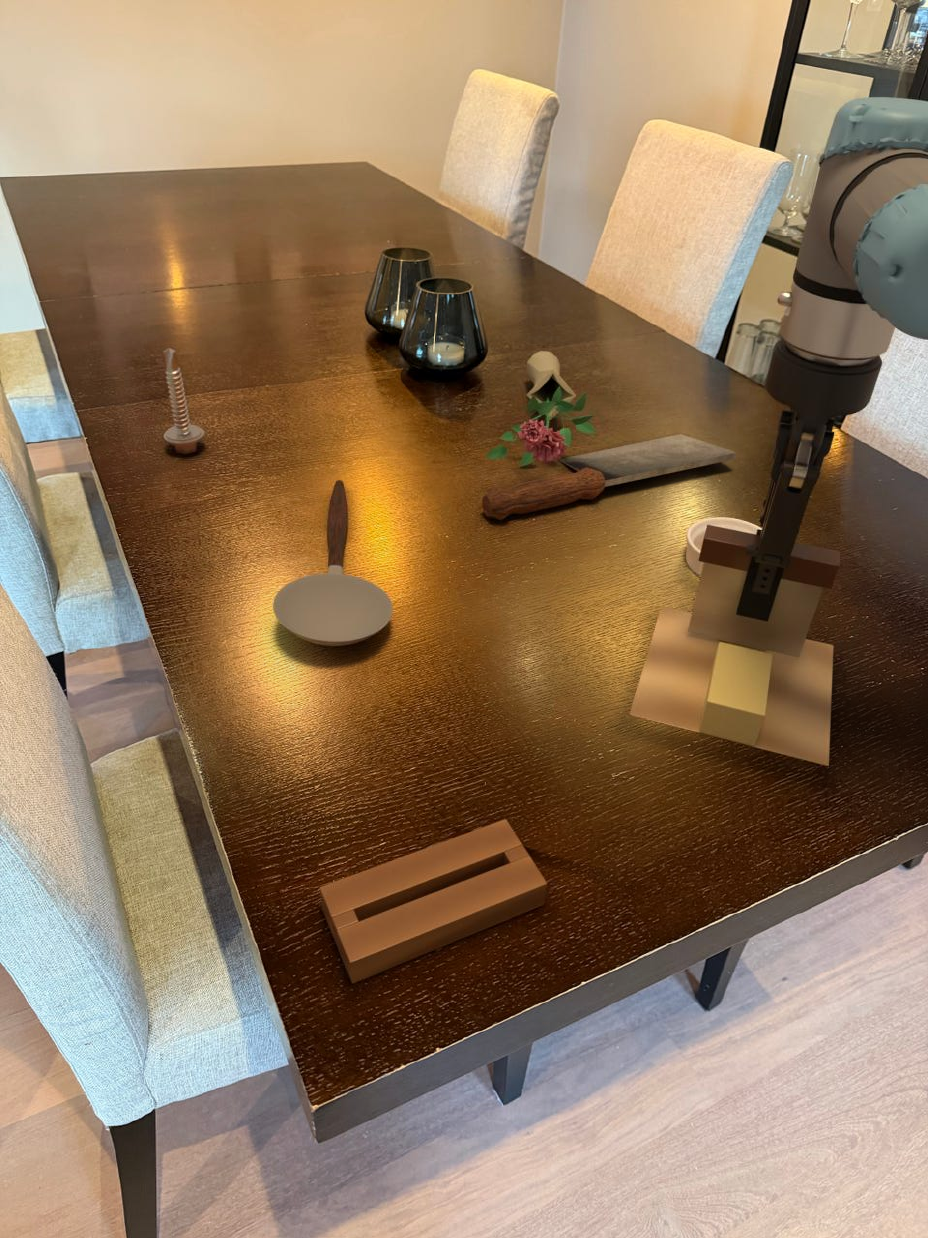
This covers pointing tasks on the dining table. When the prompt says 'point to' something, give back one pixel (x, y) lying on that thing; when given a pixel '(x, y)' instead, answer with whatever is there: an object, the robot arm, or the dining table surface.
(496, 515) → the meat cleaver
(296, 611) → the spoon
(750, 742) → the butter stick
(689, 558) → the white ring
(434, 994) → the dining table surface
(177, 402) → the screw
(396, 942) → the block
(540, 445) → the carnation
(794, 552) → the dough scraper
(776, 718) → the butter board
